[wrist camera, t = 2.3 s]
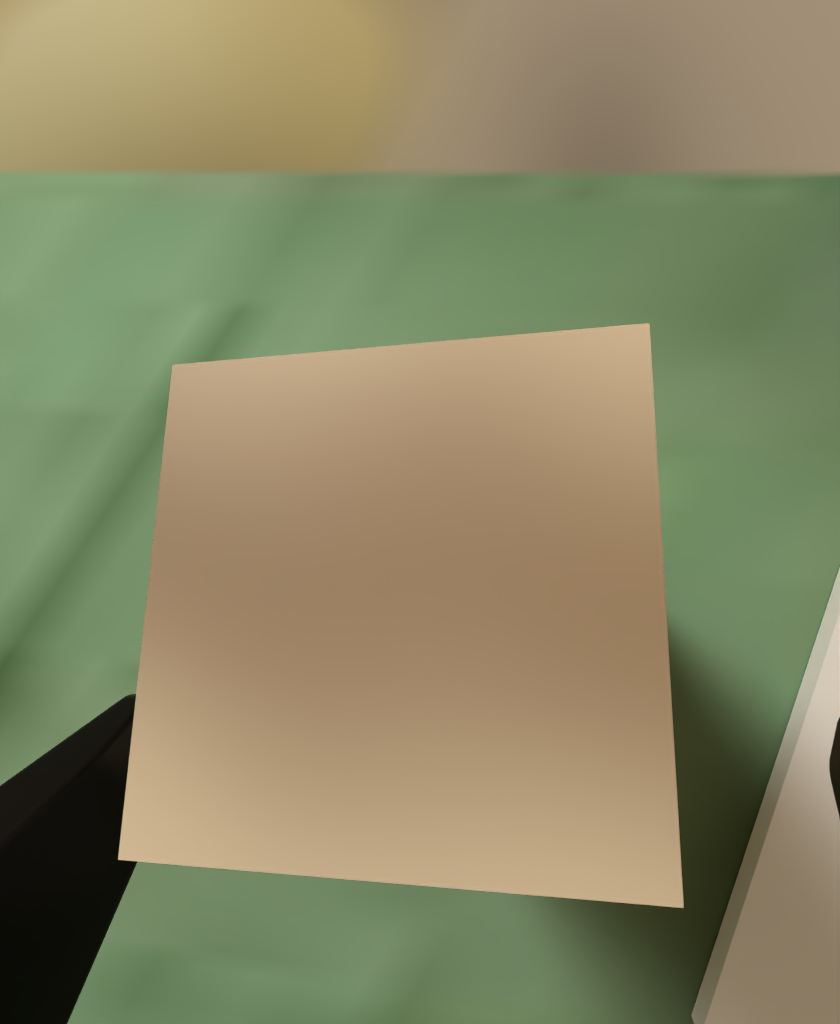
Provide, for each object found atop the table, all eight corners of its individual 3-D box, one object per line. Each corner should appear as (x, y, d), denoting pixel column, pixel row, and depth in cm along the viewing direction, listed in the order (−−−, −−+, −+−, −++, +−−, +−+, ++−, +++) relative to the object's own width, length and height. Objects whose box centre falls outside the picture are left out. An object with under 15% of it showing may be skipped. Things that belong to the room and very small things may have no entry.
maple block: (618, 753, 17) (682, 907, 5) (437, 746, 18) (117, 860, 6) (610, 570, 18) (649, 322, 6) (440, 573, 19) (172, 364, 7)
